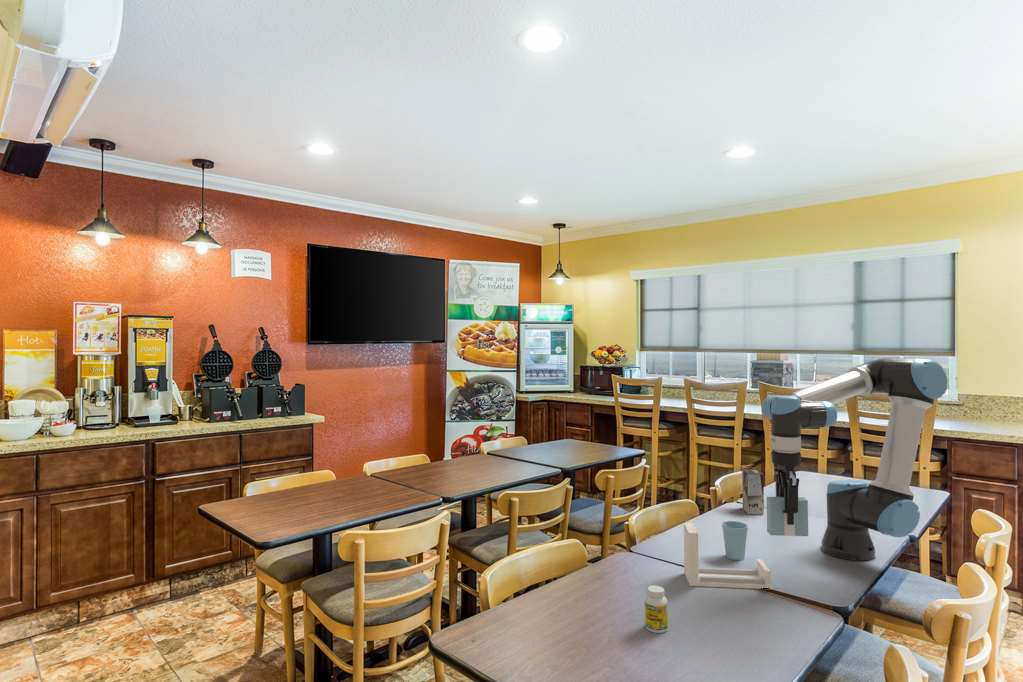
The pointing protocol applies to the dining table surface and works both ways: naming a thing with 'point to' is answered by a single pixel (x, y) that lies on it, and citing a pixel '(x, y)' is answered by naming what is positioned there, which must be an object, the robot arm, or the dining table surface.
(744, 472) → the coffee box
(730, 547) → the cup
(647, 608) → the supplement bottle
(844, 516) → the robot arm
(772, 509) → the door panel
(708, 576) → the track board
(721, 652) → the dining table surface
